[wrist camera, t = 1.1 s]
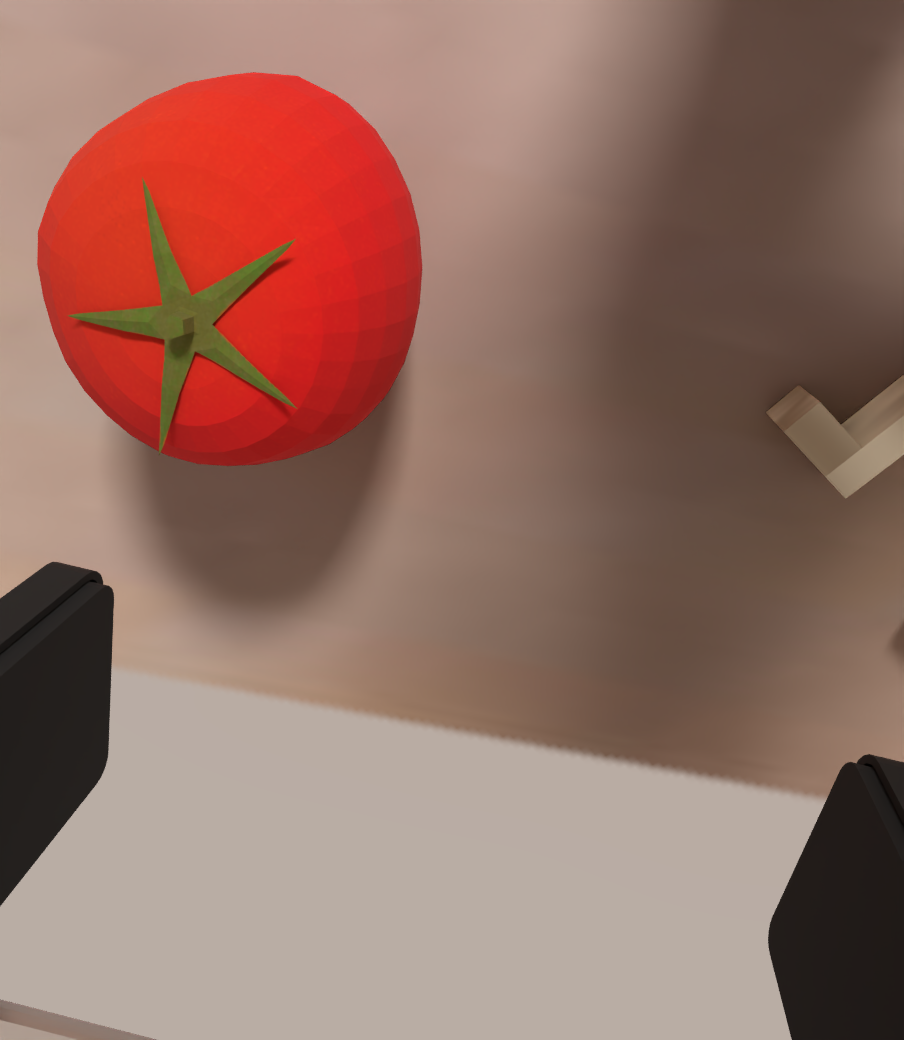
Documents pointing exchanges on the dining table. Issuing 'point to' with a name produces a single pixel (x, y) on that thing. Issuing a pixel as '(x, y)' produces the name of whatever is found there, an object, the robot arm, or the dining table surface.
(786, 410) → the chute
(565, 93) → the dining table surface
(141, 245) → the tomato
